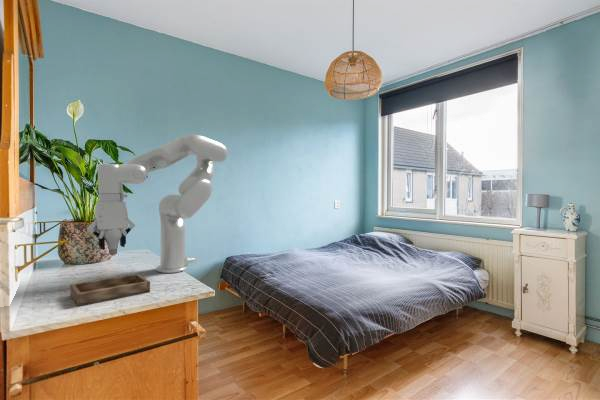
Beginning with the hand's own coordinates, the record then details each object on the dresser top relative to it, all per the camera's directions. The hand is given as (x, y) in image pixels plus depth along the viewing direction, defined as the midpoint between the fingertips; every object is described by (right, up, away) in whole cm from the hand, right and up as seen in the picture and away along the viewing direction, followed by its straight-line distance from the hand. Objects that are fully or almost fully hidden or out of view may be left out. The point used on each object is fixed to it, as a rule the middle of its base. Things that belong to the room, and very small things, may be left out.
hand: (112, 247), depth 115 cm
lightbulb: (0, -3, 0) cm, 3 cm away
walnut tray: (+7, -13, -12) cm, 19 cm away
